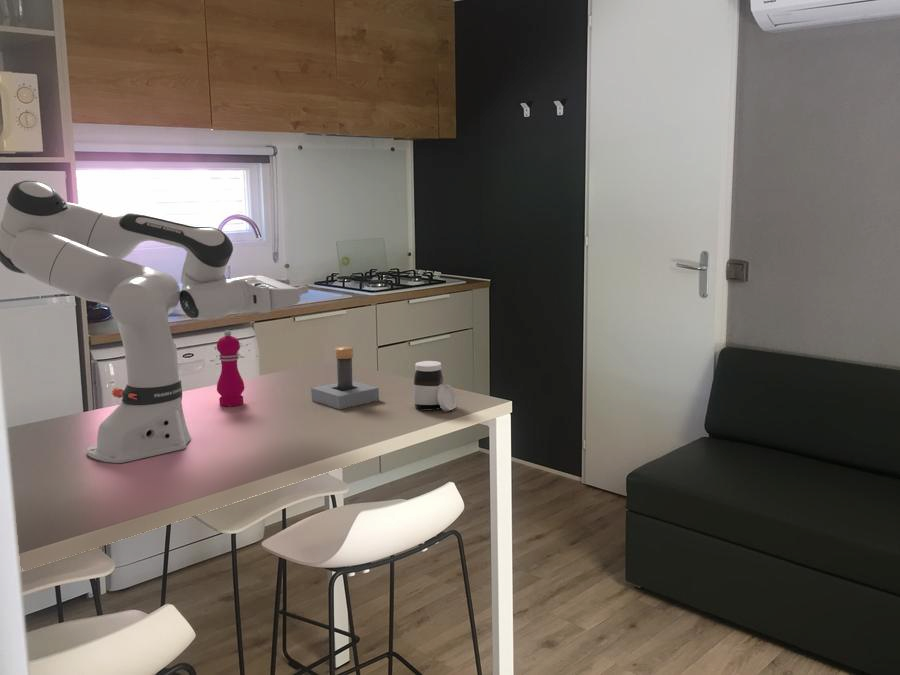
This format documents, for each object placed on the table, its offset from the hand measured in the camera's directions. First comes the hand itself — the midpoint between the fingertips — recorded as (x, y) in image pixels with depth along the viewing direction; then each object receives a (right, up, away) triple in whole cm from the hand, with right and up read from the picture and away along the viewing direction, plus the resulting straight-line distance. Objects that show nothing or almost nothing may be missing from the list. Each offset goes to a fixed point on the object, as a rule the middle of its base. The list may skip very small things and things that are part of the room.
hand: (297, 285), depth 217 cm
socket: (+11, -30, +14) cm, 35 cm away
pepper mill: (-20, -31, +12) cm, 39 cm away
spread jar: (+35, -32, +5) cm, 48 cm away
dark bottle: (+11, -30, +13) cm, 35 cm away
